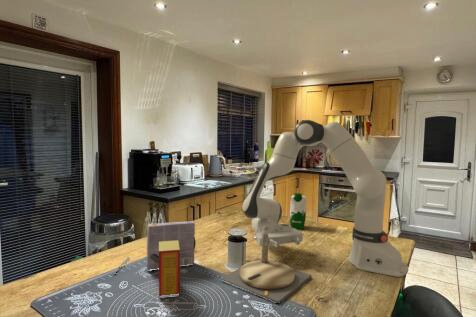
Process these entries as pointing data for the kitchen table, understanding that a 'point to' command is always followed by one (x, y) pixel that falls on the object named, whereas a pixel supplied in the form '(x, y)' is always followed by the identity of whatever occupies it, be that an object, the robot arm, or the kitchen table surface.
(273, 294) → the base plate
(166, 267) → the baking soda box
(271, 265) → the dial
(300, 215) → the milk carton
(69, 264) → the kitchen table surface
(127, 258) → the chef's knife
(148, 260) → the cake pan box
